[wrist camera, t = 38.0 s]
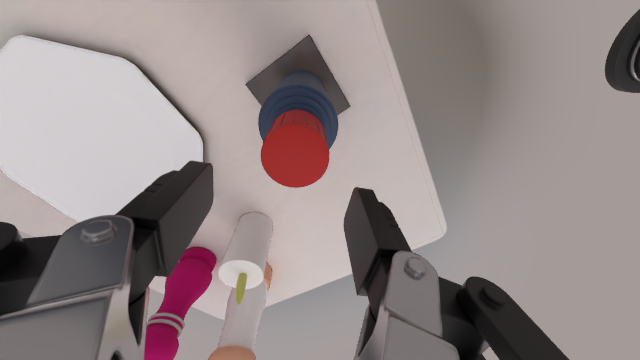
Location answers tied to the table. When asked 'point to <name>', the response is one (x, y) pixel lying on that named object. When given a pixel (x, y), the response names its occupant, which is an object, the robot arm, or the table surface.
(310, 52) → the coaster
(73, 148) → the plate
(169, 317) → the pepper mill
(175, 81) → the table surface
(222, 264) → the candle
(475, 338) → the robot arm
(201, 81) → the table surface
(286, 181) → the cap
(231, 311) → the pepper shaker
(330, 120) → the bottle
